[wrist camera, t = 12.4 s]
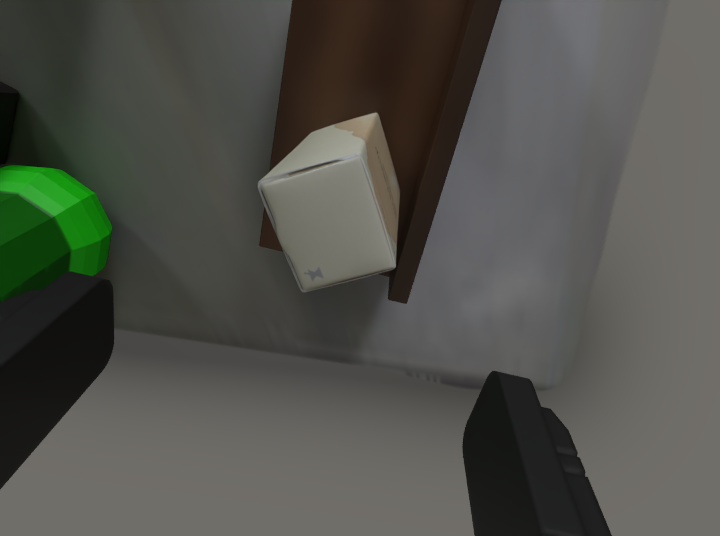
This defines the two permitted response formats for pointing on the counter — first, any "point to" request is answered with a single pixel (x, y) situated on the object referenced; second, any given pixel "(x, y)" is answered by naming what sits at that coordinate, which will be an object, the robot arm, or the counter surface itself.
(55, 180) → the plastic bottle
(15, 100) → the phone stand
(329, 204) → the box
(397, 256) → the shelf
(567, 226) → the counter surface
